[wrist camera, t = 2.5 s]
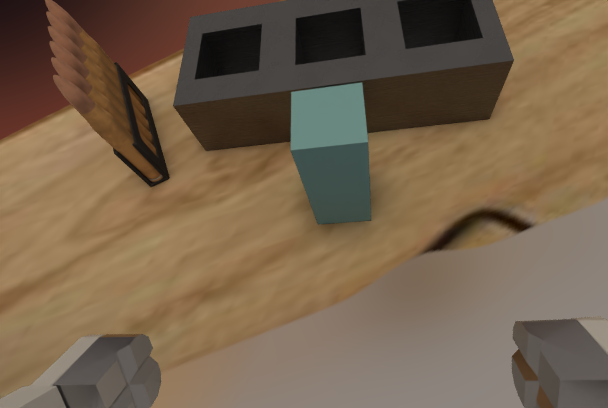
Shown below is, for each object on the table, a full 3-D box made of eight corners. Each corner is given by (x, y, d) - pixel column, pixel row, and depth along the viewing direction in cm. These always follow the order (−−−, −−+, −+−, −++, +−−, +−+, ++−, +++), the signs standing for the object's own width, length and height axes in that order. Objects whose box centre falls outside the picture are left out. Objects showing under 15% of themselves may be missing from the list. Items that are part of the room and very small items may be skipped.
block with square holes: (205, 150, 33) (173, 105, 28) (216, 69, 38) (190, 17, 32) (489, 118, 29) (513, 60, 24) (464, 32, 34) (480, -34, 28)
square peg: (318, 224, 28) (290, 150, 19) (316, 179, 30) (291, 92, 21) (371, 220, 27) (368, 141, 19) (366, 174, 29) (362, 82, 20)
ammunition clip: (170, 179, 32) (69, 79, 22) (150, 187, 32) (40, 91, 22) (147, 99, 38) (56, -14, 27) (130, 106, 37) (33, -4, 27)
